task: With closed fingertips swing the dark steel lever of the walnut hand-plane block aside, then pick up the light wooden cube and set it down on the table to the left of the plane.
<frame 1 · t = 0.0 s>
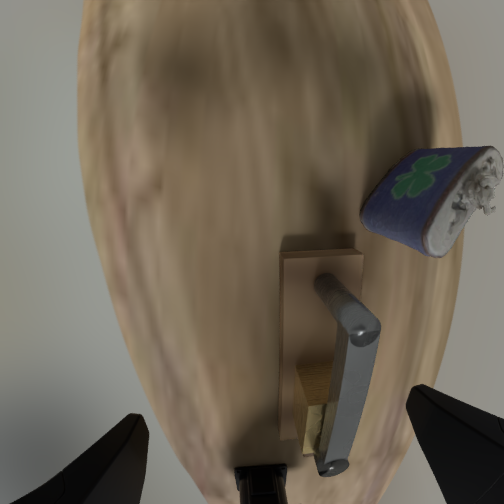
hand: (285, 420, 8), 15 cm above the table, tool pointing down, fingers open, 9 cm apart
light wooden cube: (316, 389, 23), point 2 cm above the table, touching plane body
flask: (395, 186, 21), on the table
lever: (333, 386, 18), point 6 cm above the table, hinge at 0.0°
plane body: (312, 354, 24), on the table
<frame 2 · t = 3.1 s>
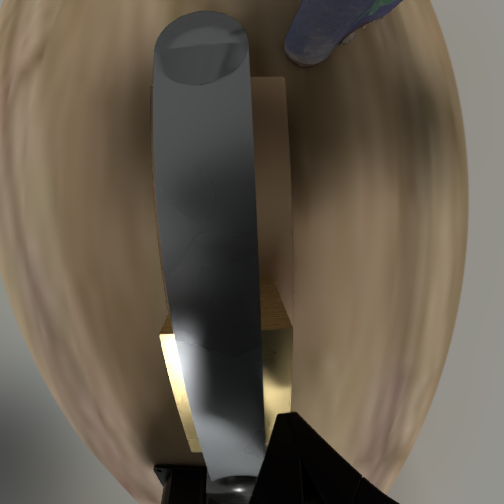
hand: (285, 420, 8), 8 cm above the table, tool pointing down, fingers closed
light wooden cube: (232, 334, 14), point 2 cm above the table, touching plane body
flask: (338, 23, 12), on the table
lever: (224, 300, 9), point 6 cm above the table, hinge at 0.1°, touching gripper
plane body: (228, 274, 15), on the table
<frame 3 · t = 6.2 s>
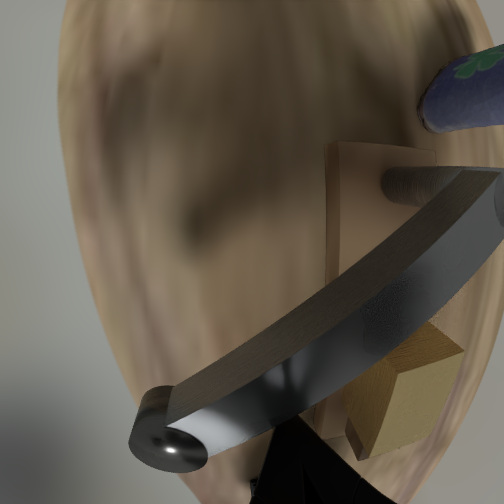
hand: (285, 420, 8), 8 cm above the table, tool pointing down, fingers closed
light wooden cube: (377, 358, 15), point 2 cm above the table, touching plane body
flask: (448, 90, 14), on the table
lever: (315, 294, 10), point 6 cm above the table, hinge at 56.1°, touching gripper
plane body: (368, 308, 17), on the table
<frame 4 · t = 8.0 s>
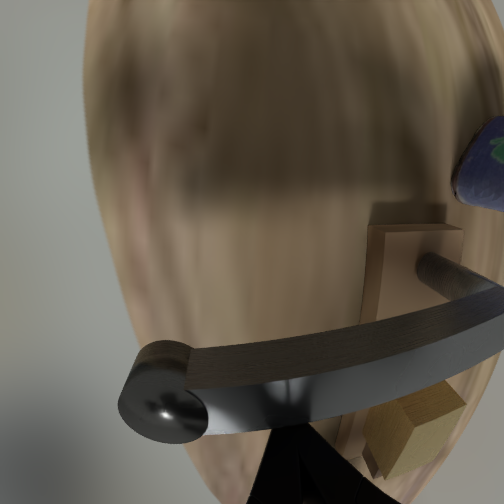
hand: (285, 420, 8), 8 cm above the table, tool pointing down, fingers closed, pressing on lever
light wooden cube: (394, 399, 17), point 2 cm above the table, touching plane body
flask: (479, 154, 15), on the table
lever: (349, 322, 10), point 6 cm above the table, hinge at 86.6°, touching gripper
plane body: (390, 357, 18), on the table
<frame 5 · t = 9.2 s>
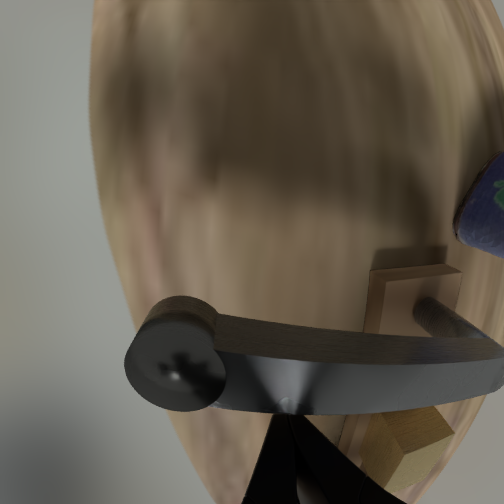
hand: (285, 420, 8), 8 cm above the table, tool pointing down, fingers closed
light wooden cube: (389, 424, 17), point 2 cm above the table, touching plane body
flask: (482, 191, 15), on the table
lever: (358, 334, 10), point 6 cm above the table, hinge at 103.9°
plane body: (386, 385, 18), on the table
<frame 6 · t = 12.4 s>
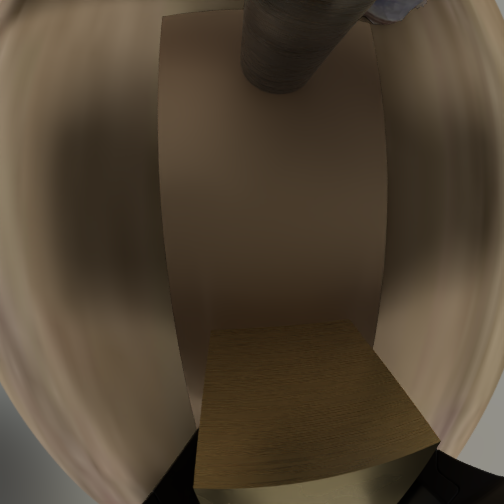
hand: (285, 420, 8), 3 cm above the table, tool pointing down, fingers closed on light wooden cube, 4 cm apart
light wooden cube: (281, 401, 9), point 2 cm above the table, touching gripper, plane body
plane body: (273, 311, 10), on the table
when the fingers open (3 cm above the table, at t = 16.3 s): light wooden cube drops 2 cm, on the table.
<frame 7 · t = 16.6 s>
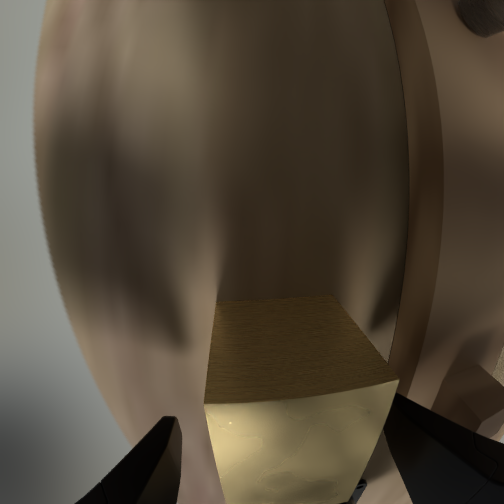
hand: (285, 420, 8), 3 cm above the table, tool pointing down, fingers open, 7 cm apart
light wooden cube: (274, 368, 10), on the table
plane body: (463, 198, 9), on the table
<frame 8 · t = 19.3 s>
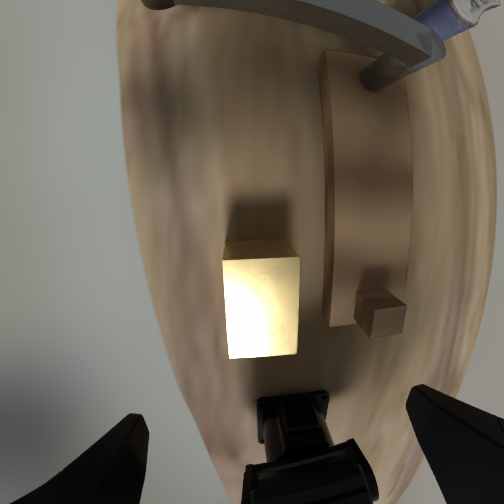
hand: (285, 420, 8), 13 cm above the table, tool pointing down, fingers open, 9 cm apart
light wooden cube: (255, 281, 20), on the table
flask: (416, 35, 16), on the table
lever: (286, 22, 11), point 6 cm above the table, hinge at 103.9°
plane body: (364, 187, 19), on the table
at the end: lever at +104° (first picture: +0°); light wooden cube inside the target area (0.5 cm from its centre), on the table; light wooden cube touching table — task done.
